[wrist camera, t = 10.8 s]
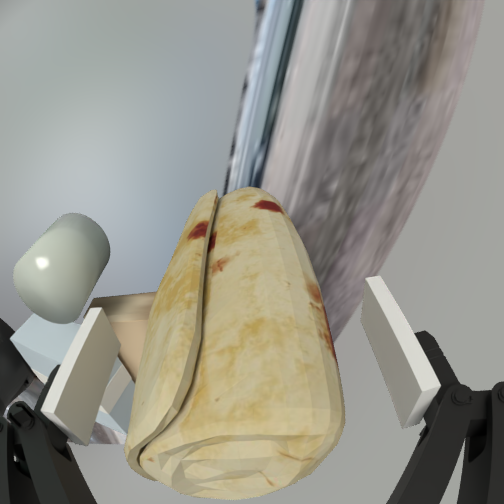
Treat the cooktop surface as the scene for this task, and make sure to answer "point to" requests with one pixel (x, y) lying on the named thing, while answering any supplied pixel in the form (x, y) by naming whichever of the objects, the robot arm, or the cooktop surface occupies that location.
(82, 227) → the pale green rounded knob
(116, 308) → the tan square plate
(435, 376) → the robot arm
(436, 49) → the cooktop surface
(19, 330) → the flat box
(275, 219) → the food model
